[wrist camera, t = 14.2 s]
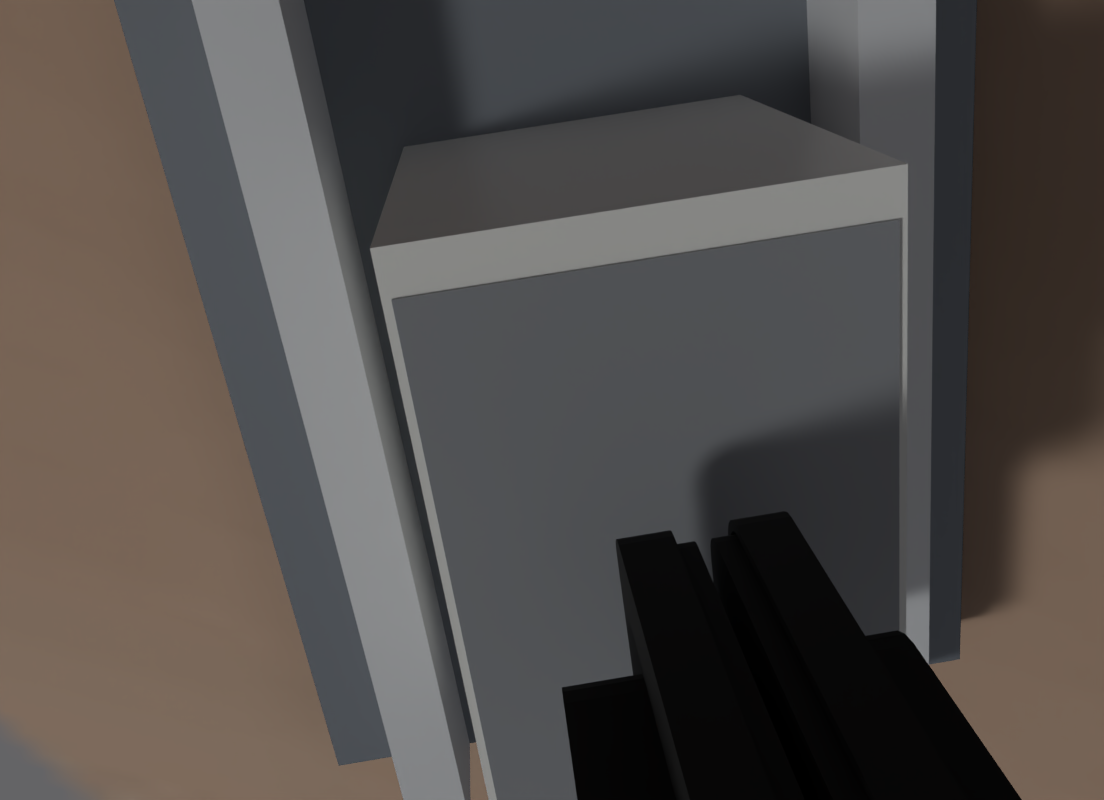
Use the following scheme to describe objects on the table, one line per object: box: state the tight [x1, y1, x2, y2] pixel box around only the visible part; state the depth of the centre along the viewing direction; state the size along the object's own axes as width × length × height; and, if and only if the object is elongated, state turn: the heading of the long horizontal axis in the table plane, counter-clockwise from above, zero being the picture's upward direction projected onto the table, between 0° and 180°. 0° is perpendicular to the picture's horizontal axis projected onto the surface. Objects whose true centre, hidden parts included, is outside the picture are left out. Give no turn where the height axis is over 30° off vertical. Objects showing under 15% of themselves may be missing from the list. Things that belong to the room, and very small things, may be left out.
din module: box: [370, 95, 908, 800], centre depth 13 cm, size 8×5×6 cm, turn 8°
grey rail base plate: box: [114, 0, 977, 800], centre depth 16 cm, size 14×12×3 cm
